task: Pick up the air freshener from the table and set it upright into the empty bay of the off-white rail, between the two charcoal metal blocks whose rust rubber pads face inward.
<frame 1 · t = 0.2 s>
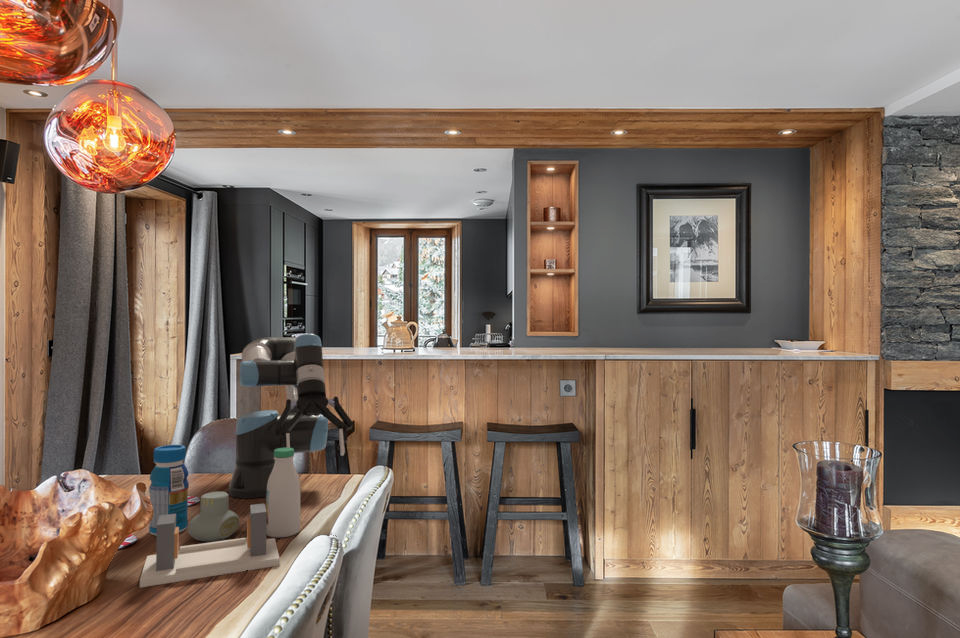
hand: (316, 456, 148), 15 cm above the table, tool tilted 35°, fingers open, 13 cm apart
rail: (213, 564, 118), on the table
milk bottle: (283, 533, 136), on the table
air freshener: (214, 538, 133), on the table
beverage bottle: (168, 531, 137), on the table
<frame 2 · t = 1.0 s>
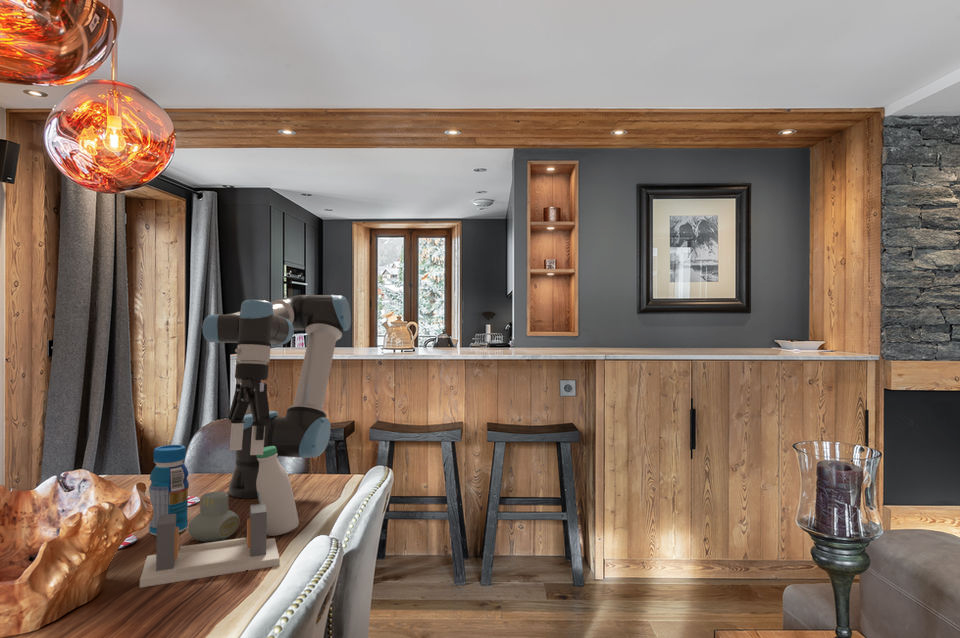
hand: (245, 452, 136), 19 cm above the table, tool pointing down, fingers open, 13 cm apart
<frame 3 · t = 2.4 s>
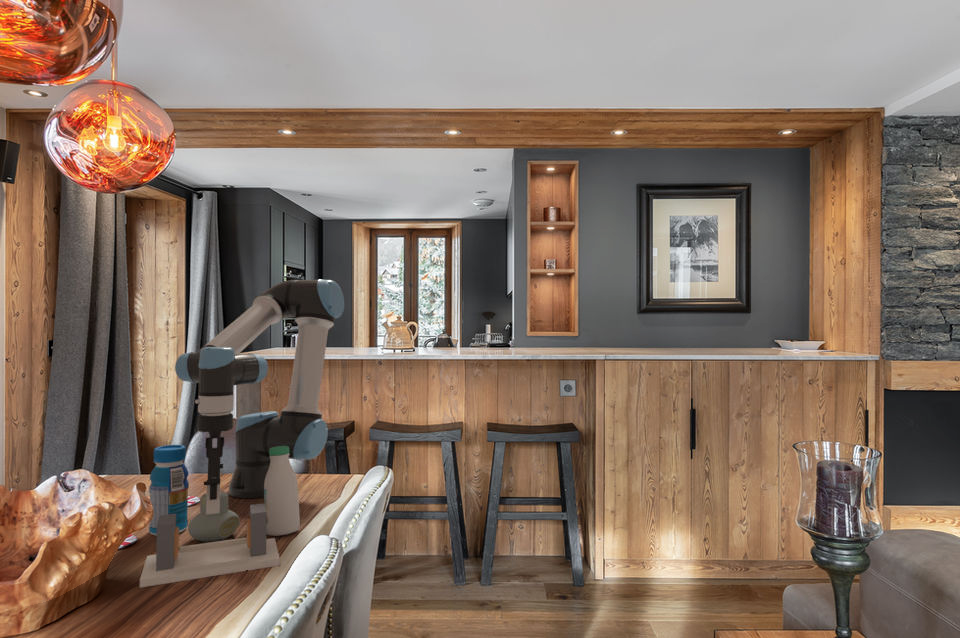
hand: (213, 505, 132), 8 cm above the table, tool pointing down, fingers open, 13 cm apart
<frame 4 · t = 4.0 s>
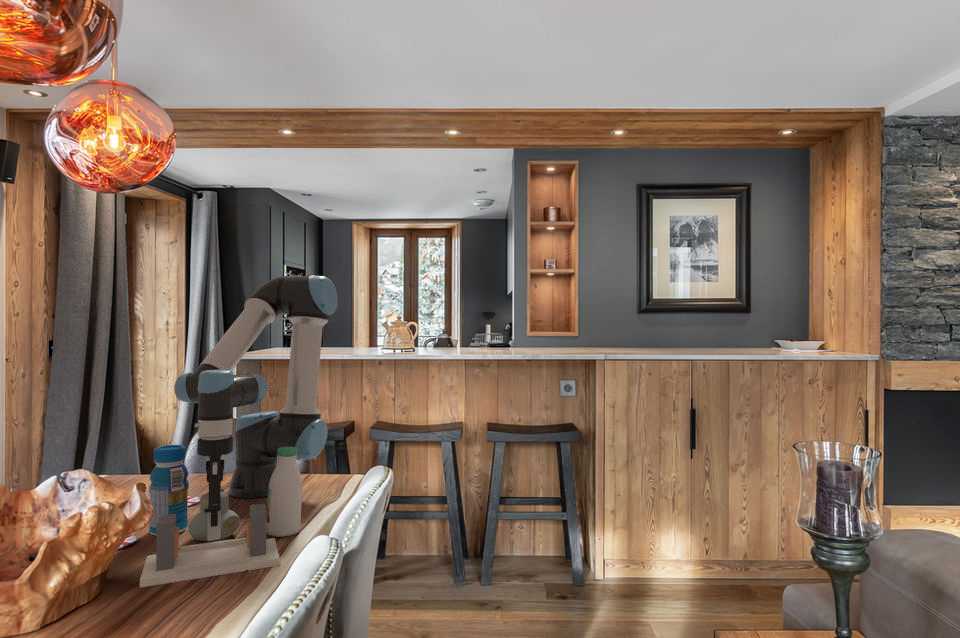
hand: (214, 530, 133), 2 cm above the table, tool pointing down, fingers closed on air freshener, 11 cm apart
air freshener: (214, 538, 133), on the table, touching gripper
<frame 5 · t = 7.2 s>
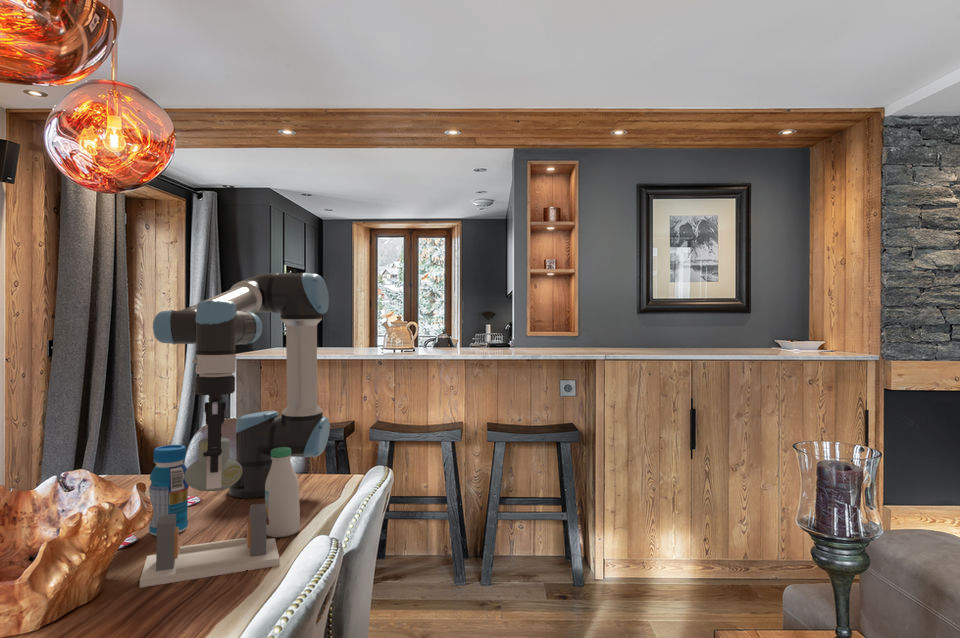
hand: (214, 480, 118), 17 cm above the table, tool pointing down, fingers closed on air freshener, 11 cm apart
air freshener: (213, 488, 118), point 16 cm above the table, touching gripper
when the fingers open (4 cm above the table, at t = 10.5 s): air freshener stays where it is, resting on rail.
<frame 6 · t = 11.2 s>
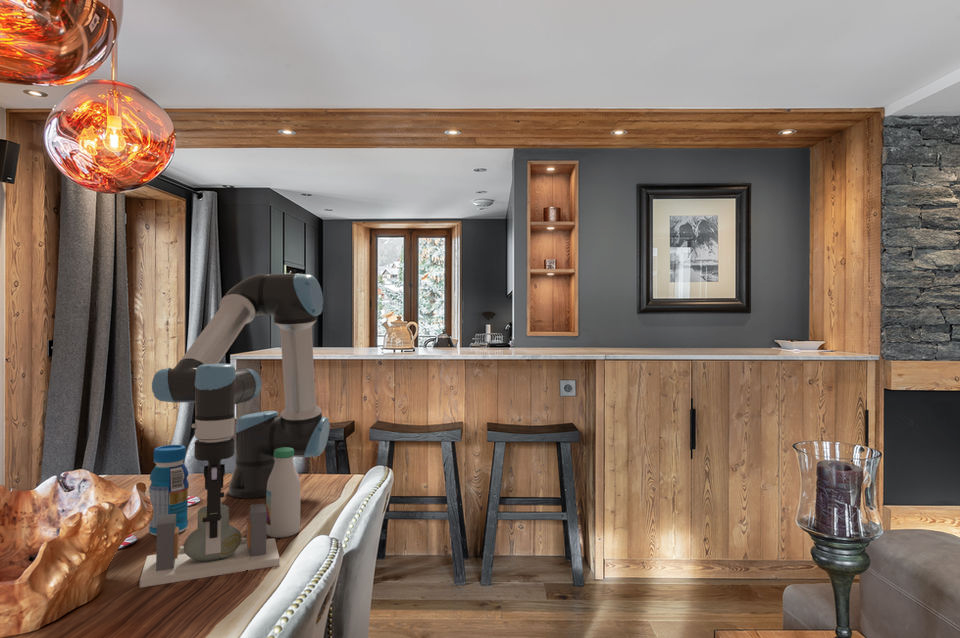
hand: (213, 540, 118), 5 cm above the table, tool pointing down, fingers open, 13 cm apart
air freshener: (213, 557, 118), point 1 cm above the table, touching rail
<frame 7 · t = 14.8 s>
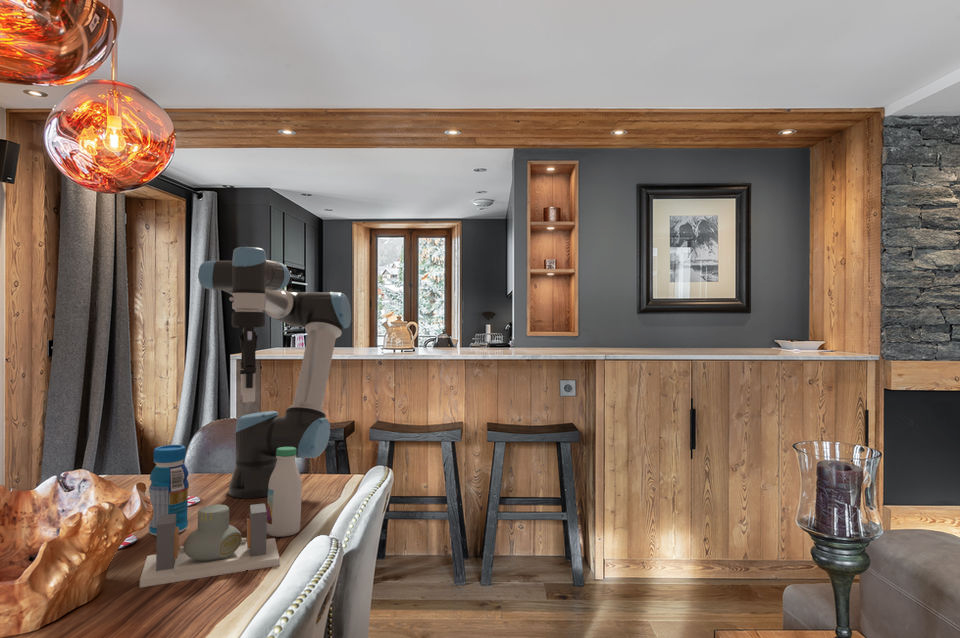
hand: (247, 398, 138), 32 cm above the table, tool pointing down, fingers open, 13 cm apart
at the end: air freshener 0.1 cm off-centre on the rail, point 1.3 cm above the rail's base; air freshener tilted 0°; the gripper is holding nothing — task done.
